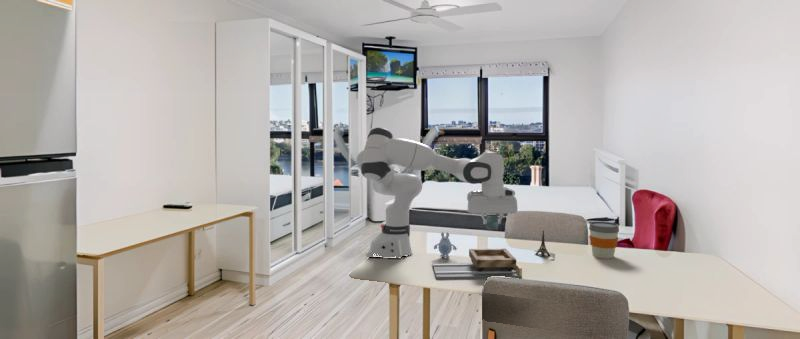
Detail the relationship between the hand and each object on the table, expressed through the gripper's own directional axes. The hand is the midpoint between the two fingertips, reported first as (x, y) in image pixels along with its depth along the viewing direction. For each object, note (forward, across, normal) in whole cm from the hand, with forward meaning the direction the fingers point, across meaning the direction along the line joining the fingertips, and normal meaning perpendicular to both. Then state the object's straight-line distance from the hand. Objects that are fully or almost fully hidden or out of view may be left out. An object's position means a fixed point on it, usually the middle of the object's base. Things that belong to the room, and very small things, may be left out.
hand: (492, 224), depth 178 cm
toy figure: (+20, -17, +20) cm, 33 cm away
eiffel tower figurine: (+21, +30, +22) cm, 42 cm away
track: (+20, -7, 0) cm, 21 cm away
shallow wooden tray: (+18, 0, 0) cm, 18 cm away
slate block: (+2, 0, 0) cm, 2 cm away
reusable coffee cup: (+20, +57, +20) cm, 64 cm away
